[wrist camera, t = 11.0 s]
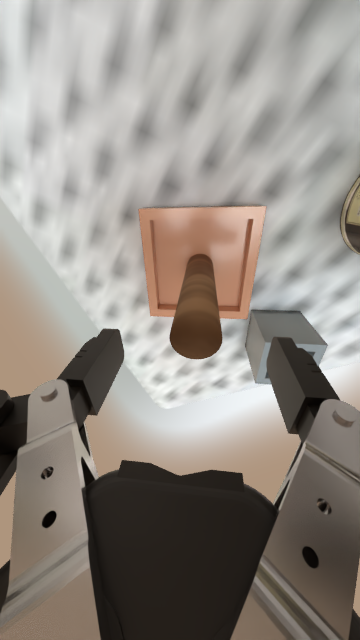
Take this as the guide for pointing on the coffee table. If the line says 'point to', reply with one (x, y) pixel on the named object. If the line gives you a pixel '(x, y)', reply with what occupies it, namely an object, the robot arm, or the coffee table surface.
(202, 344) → the dowel
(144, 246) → the tray
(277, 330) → the holder
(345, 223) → the coffee can
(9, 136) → the coffee table surface
